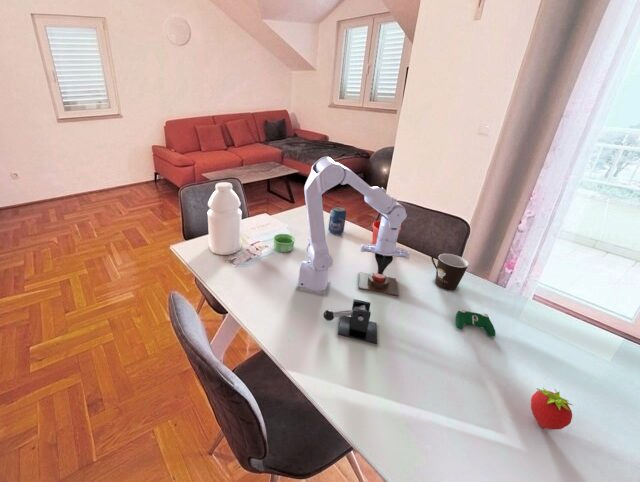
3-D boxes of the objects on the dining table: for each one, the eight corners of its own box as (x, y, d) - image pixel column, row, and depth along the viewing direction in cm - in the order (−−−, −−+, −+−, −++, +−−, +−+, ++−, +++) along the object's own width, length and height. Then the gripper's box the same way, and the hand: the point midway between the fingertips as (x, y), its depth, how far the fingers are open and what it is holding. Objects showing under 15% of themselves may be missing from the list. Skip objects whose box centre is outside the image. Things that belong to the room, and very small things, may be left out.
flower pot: (401, 252, 129) (406, 231, 125) (374, 252, 129) (378, 231, 125) (390, 240, 138) (394, 220, 135) (365, 240, 139) (368, 220, 135)
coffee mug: (464, 294, 104) (473, 268, 100) (436, 291, 105) (444, 265, 101) (450, 274, 114) (458, 250, 110) (424, 272, 116) (431, 248, 112)
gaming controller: (490, 337, 88) (489, 315, 91) (496, 336, 85) (495, 314, 87) (452, 329, 91) (452, 309, 93) (457, 328, 88) (457, 307, 90)
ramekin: (273, 242, 137) (273, 233, 135) (294, 243, 136) (294, 234, 134) (272, 252, 129) (272, 242, 127) (294, 253, 128) (295, 244, 126)
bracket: (337, 336, 87) (341, 311, 83) (339, 317, 94) (343, 293, 90) (376, 346, 83) (382, 320, 80) (375, 325, 90) (381, 301, 87)
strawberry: (521, 430, 63) (539, 396, 59) (522, 403, 68) (539, 371, 64) (561, 451, 60) (584, 416, 56) (559, 421, 65) (580, 388, 61)
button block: (358, 290, 106) (359, 282, 104) (359, 274, 114) (360, 267, 113) (397, 298, 102) (399, 290, 101) (395, 281, 110) (396, 274, 109)
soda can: (328, 235, 143) (331, 210, 139) (327, 228, 150) (330, 205, 145) (344, 236, 142) (347, 211, 138) (342, 229, 149) (345, 206, 144)
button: (373, 281, 106) (373, 276, 105) (372, 275, 109) (373, 271, 108) (384, 283, 105) (385, 278, 104) (384, 277, 108) (384, 273, 107)
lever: (324, 323, 90) (321, 315, 89) (326, 316, 92) (322, 308, 91) (367, 318, 84) (364, 309, 83) (367, 311, 87) (364, 302, 86)
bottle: (227, 236, 142) (226, 177, 131) (248, 247, 133) (249, 184, 122) (202, 246, 134) (198, 184, 122) (223, 259, 124) (221, 192, 113)
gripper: (411, 235, 102) (402, 270, 107) (363, 228, 106) (357, 262, 112) (413, 245, 96) (404, 282, 101) (363, 237, 100) (357, 273, 106)
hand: (380, 272), depth 106 cm, fingers closed
